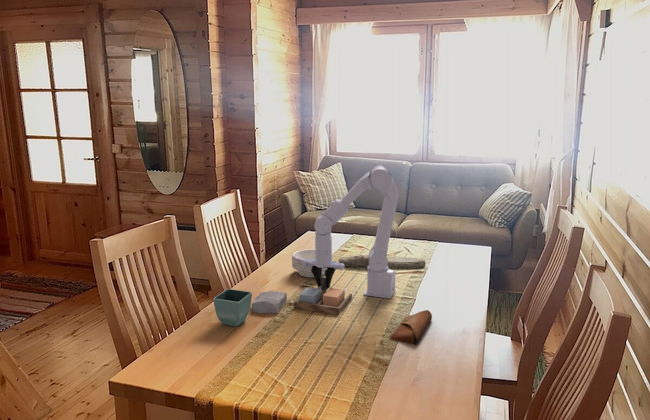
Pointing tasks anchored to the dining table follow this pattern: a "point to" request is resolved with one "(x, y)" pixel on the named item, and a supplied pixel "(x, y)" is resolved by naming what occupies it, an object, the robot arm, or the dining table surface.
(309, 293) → the grey mallet
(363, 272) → the dining table surface
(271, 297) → the stone block
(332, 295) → the terracotta block
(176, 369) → the dining table surface
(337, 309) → the lane rack
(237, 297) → the flower pot
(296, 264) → the paper bowls
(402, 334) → the sunglasses case
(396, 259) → the long grey stone
